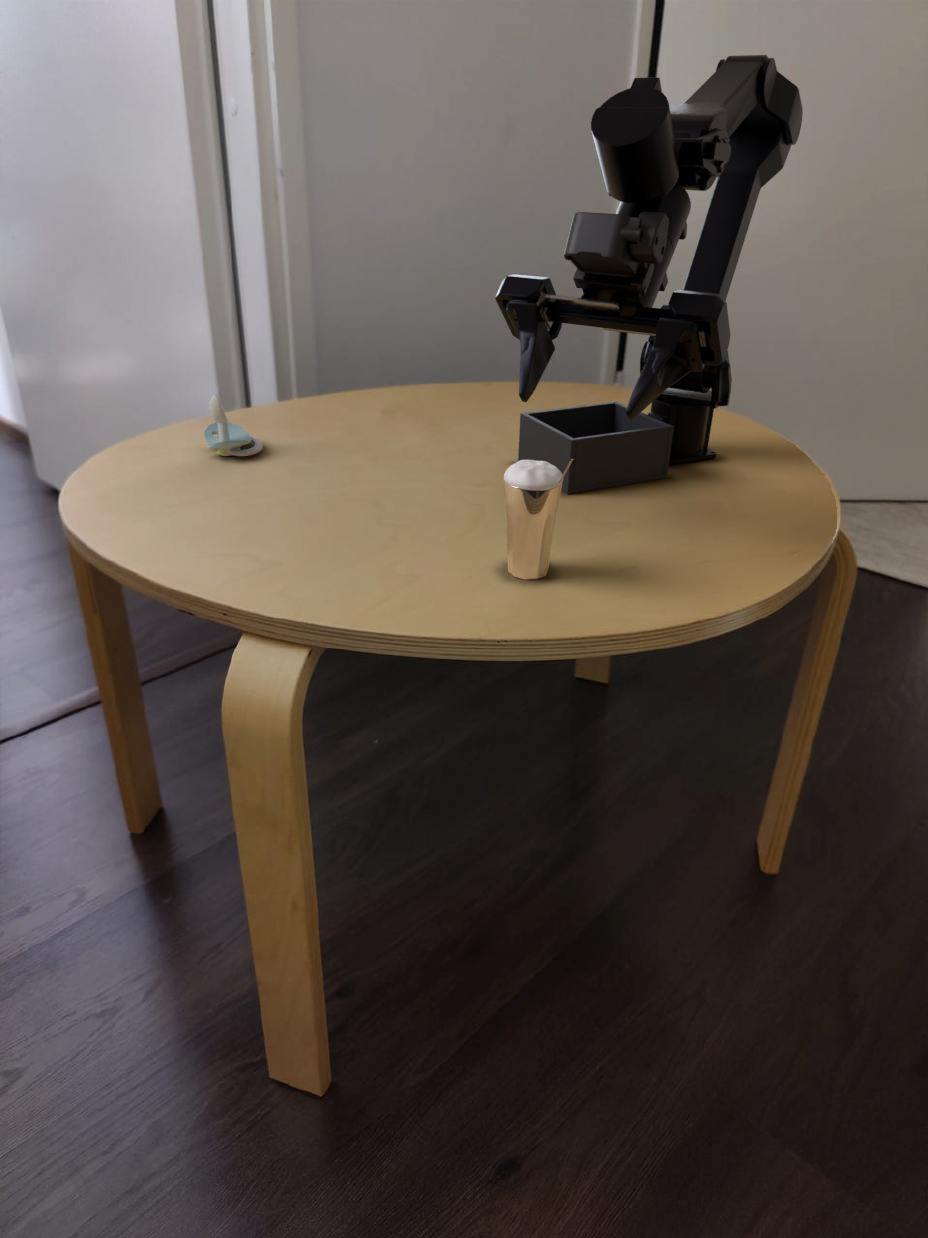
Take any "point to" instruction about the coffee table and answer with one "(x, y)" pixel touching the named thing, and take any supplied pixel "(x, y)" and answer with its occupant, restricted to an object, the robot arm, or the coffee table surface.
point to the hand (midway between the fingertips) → (574, 407)
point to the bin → (597, 445)
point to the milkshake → (531, 515)
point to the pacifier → (228, 434)
